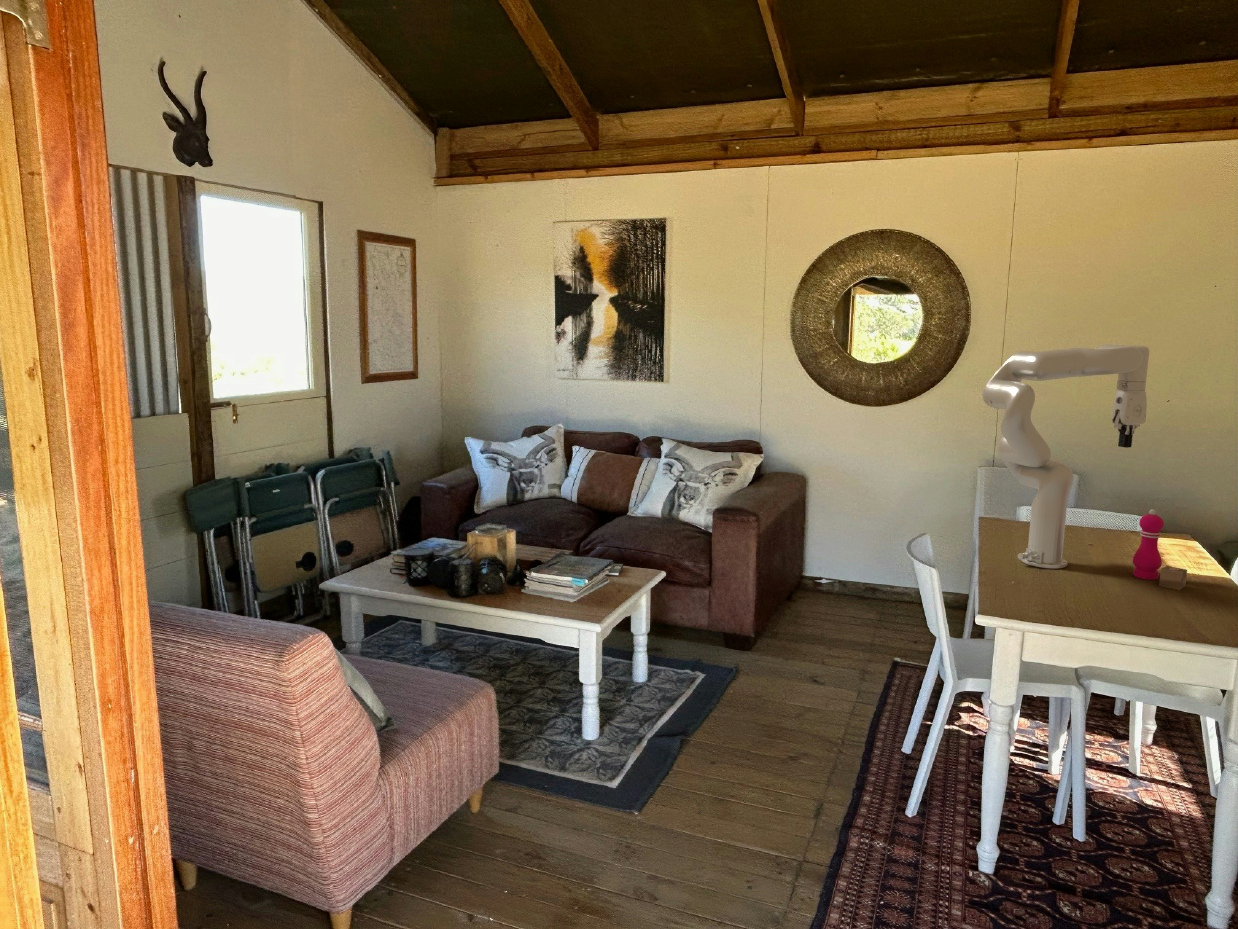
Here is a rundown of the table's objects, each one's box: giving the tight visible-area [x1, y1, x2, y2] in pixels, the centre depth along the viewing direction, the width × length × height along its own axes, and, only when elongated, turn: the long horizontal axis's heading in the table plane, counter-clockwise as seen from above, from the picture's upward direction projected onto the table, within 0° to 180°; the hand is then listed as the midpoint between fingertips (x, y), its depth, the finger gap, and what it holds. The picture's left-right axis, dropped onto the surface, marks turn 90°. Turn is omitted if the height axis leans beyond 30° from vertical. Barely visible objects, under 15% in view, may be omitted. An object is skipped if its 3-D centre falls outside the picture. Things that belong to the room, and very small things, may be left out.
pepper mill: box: [1132, 509, 1165, 581], centre depth 250 cm, size 7×7×20 cm
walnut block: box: [1158, 565, 1188, 591], centre depth 243 cm, size 5×5×5 cm
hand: (1124, 446), depth 265 cm, fingers closed
